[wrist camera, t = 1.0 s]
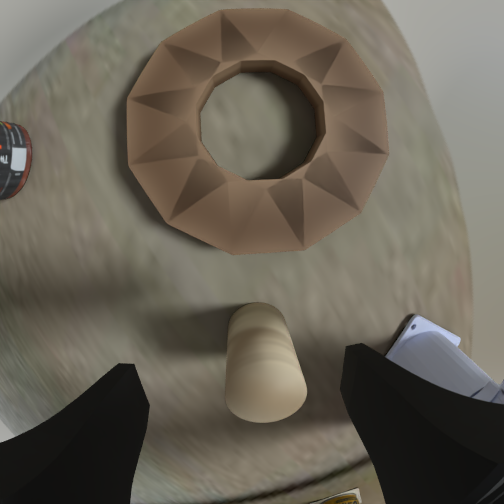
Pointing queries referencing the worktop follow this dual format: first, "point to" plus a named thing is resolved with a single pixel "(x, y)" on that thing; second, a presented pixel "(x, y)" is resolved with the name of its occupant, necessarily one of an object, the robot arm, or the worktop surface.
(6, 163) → the supplement bottle
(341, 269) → the worktop surface
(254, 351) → the beech peg
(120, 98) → the worktop surface
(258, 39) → the walnut ring
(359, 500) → the condiment
